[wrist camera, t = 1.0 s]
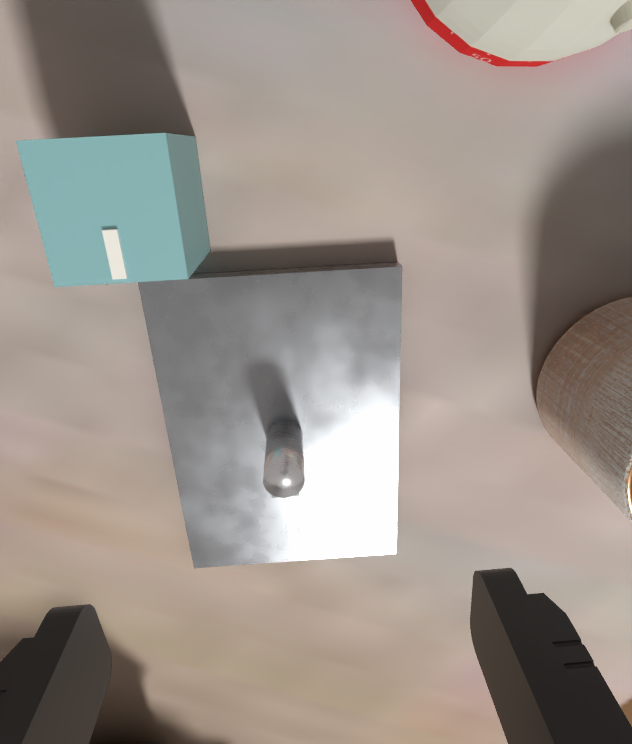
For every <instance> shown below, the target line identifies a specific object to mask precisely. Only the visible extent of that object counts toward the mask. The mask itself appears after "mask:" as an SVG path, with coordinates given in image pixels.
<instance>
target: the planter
mask: <svg viewBox="0 0 632 744" xmlns="http://www.w3.org/2000/svg"><path fill="white" fill-rule="evenodd" d="M536 402H537V408H538V412H539V415H540V418H541V420H542V423H543V424H544V426H545V428H546V429H547V431H548V433H549V434H550V436H551V437H552V438H553V439H554V440H555V441H556V442H557V443H558V445H559V446H560V447H561V448H562V449H563V450H564V451H565V452H566V453H567V454H568V455H569V456H570V457H571V458H572V459H573V460H574V461H575V463H576V464H577V465H578V466H579V467H580V468H581V469H582V470H583V471H584V472H585V473H586V474H587V475H588V476H589V477H590V478H591V479H592V480H593V481H594V482H595V483H596V484H597V486H598V487H599V488H600V489H601V490H602V491H603V492H604V493H605V494H606V495H607V496H608V497H609V498H610V499H611V500H612V501H613V503H614V504H615V505H616V506H617V507H618V508H619V509H620V510H621V511H622V512H623V513H624V514H625V515H626V517H627V518H628V519H629V520H630V521H631V522H632V297H627V298H622V299H619V300H615V301H613V302H610V303H607V304H605V305H603V306H601V307H598V308H597V309H595V310H593V311H591V312H590V313H588V314H586V315H585V316H583V317H582V318H581V319H579V320H578V321H577V322H576V323H574V324H573V325H572V326H571V327H570V328H569V329H568V330H567V331H566V332H565V333H564V334H563V335H562V336H561V337H560V338H559V339H558V341H557V342H556V343H555V345H554V346H553V347H552V349H551V350H550V352H549V354H548V356H547V357H546V359H545V361H544V364H543V366H542V369H541V371H540V374H539V378H538V383H537V390H536Z"/></svg>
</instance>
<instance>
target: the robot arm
mask: <svg viewBox="0 0 632 744" xmlns="http://www.w3.org/2000/svg"><path fill="white" fill-rule="evenodd" d="M470 628H471V635H472V641H473V645H474V649H475V652H476V655H477V658H478V661H479V664H480V666H481V669H482V672H483V675H484V678H485V680H486V683H487V686H488V689H489V691H490V694H491V697H492V700H493V703H494V705H495V708H496V711H497V714H498V717H499V719H500V722H501V725H502V728H503V731H504V733H505V736H506V739H507V742H508V744H632V727H631V725H630V723H629V721H628V720H627V718H626V716H625V715H624V713H623V711H622V709H621V708H620V706H619V704H618V702H617V701H616V699H615V697H614V696H613V694H612V692H611V690H610V689H609V687H608V685H607V683H606V682H605V680H604V678H603V677H602V675H601V673H600V671H599V670H598V668H597V667H595V666H594V663H593V659H592V658H591V656H590V654H589V652H588V651H587V649H586V647H585V646H584V645H582V643H581V639H580V637H579V635H578V633H577V632H576V630H575V628H574V627H573V625H572V623H571V621H570V620H569V618H568V616H567V614H566V613H565V612H564V611H562V610H561V609H560V608H559V607H558V606H557V605H556V604H555V603H554V602H553V601H552V600H550V599H549V598H548V597H547V596H546V595H545V594H544V593H538V594H527V593H526V591H525V589H524V587H523V585H522V583H521V581H520V579H519V578H518V576H517V574H516V572H515V571H514V570H513V569H512V568H503V569H492V570H481V571H475V573H474V576H473V588H472V602H471V615H470ZM111 669H112V658H111V652H110V649H109V646H108V643H107V641H106V638H105V635H104V632H103V630H102V627H101V624H100V622H99V619H98V616H97V613H96V611H95V608H94V607H93V606H92V605H90V604H88V605H77V606H66V607H55V608H52V609H51V610H50V611H49V612H48V613H47V614H46V616H45V618H44V620H43V621H42V623H41V625H40V627H39V629H38V631H37V633H36V635H35V637H34V638H24V639H22V640H21V641H20V642H19V643H18V644H17V645H16V646H15V647H14V648H13V649H12V650H11V652H10V653H9V654H8V655H7V656H6V657H5V658H4V659H3V660H2V661H1V662H0V744H89V742H90V739H91V736H92V733H93V730H94V727H95V724H96V721H97V718H98V715H99V712H100V709H101V706H102V703H103V700H104V698H105V695H106V692H107V689H108V685H109V682H110V677H111Z"/></svg>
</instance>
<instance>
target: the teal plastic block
mask: <svg viewBox="0 0 632 744" xmlns="http://www.w3.org/2000/svg"><path fill="white" fill-rule="evenodd" d="M16 143H17V147H18V151H19V155H20V158H21V162H22V166H23V170H24V173H25V177H26V181H27V185H28V189H29V192H30V196H31V200H32V204H33V207H34V211H35V215H36V219H37V222H38V226H39V230H40V234H41V238H42V241H43V245H44V249H45V253H46V256H47V260H48V264H49V268H50V271H51V275H52V279H53V283H54V287H64V286H81V285H98V284H115V283H131V282H148V281H165V280H182V279H189V277H190V276H191V275H192V274H193V272H194V271H195V270H196V269H197V267H198V266H199V265H200V264H201V262H202V261H203V260H204V258H205V257H206V256H207V255H208V253H209V252H210V251H211V250H210V242H209V235H208V227H207V220H206V212H205V205H204V197H203V190H202V182H201V175H200V167H199V160H198V152H197V145H196V137H195V136H187V135H179V134H171V133H153V134H134V135H115V136H96V137H77V138H58V139H39V140H20V141H16Z"/></svg>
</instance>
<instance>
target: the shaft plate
mask: <svg viewBox="0 0 632 744" xmlns="http://www.w3.org/2000/svg"><path fill="white" fill-rule="evenodd" d="M138 284H139V290H140V295H141V300H142V305H143V310H144V315H145V320H146V325H147V330H148V335H149V341H150V346H151V351H152V356H153V361H154V366H155V371H156V376H157V381H158V387H159V392H160V397H161V402H162V407H163V412H164V417H165V422H166V427H167V433H168V438H169V443H170V448H171V453H172V458H173V463H174V468H175V473H176V479H177V484H178V489H179V494H180V499H181V504H182V509H183V514H184V519H185V525H186V530H187V535H188V540H189V545H190V550H191V555H192V560H193V565H194V568H204V567H218V566H232V565H246V564H260V563H274V562H288V561H302V560H316V559H330V558H344V557H358V556H372V555H386V554H396V541H397V492H398V443H399V395H400V346H401V297H402V266H401V265H400V264H399V263H398V262H388V263H371V264H354V265H337V266H320V267H303V268H286V269H269V270H252V271H235V272H218V273H201V274H192V275H191V276H190V277H189V279H182V280H165V281H148V282H138Z"/></svg>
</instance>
